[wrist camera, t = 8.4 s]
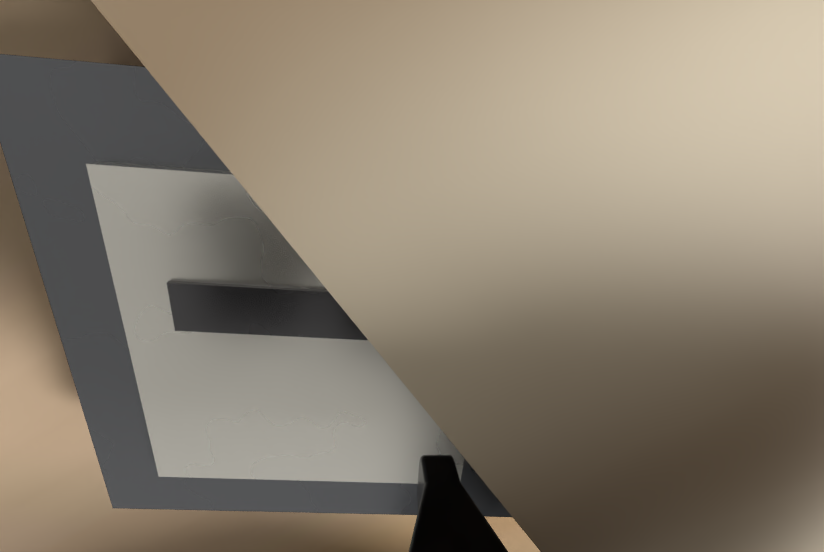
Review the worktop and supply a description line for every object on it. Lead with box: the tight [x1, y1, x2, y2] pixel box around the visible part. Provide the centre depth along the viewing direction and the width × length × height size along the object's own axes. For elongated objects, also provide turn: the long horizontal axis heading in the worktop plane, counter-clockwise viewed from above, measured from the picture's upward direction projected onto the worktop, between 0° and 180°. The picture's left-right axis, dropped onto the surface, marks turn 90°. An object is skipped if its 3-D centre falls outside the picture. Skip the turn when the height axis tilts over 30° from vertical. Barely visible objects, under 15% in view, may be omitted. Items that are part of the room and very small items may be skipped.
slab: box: [0, 54, 512, 517], centre depth 10 cm, size 10×20×3 cm, turn 85°
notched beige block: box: [91, 0, 824, 552], centre depth 7 cm, size 18×4×6 cm, turn 33°
